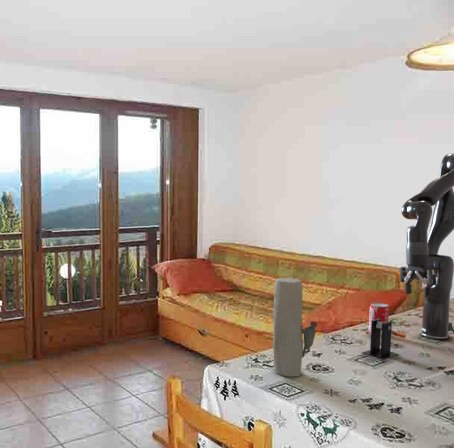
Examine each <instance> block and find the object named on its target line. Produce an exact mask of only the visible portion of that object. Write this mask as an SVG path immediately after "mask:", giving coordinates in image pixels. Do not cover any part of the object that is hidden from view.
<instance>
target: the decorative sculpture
mask: <svg viewBox="0 0 454 448" xmlns="http://www.w3.org/2000/svg"><path fill="white" fill-rule="evenodd" d="M274 281H275V282H274V295H273V305H272V307H273V308H272V309H273V310H272V318H273V320H272V321H273V324H272V325H273V331H272V332H273V339H272V353H273V355H272V357H273V358H272V359H273V367H274V371H275V372H276V374H278V375H281V376H284V377H291V378H292V377H299V376H301V373H302V361H303V359H304V357H305V354H306V352H310V350H311V347H312V346H313V344H314V341H315V337H316V332H317V331H316V328H317V327H318V322H317V321H313V320H311V321H309V320H305V322H306V323H308V324H309V326H307V327H305V328H303V305H304V303H303V282H302V280H301V279H299V278H293V277H279V278H276V279H275V280H274Z"/></svg>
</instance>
